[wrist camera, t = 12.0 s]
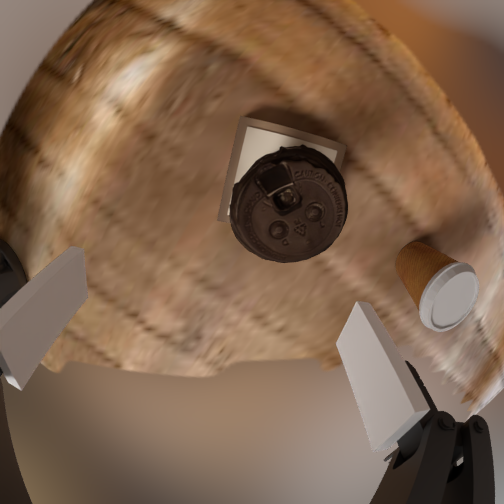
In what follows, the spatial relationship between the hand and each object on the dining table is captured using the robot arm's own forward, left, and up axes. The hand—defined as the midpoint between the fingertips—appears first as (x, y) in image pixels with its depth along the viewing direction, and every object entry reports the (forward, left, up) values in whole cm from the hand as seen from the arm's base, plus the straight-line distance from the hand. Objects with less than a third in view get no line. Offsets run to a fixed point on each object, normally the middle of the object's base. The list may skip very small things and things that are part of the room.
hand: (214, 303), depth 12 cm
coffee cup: (+4, +3, -20) cm, 20 cm away
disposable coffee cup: (+27, -3, -23) cm, 36 cm away
